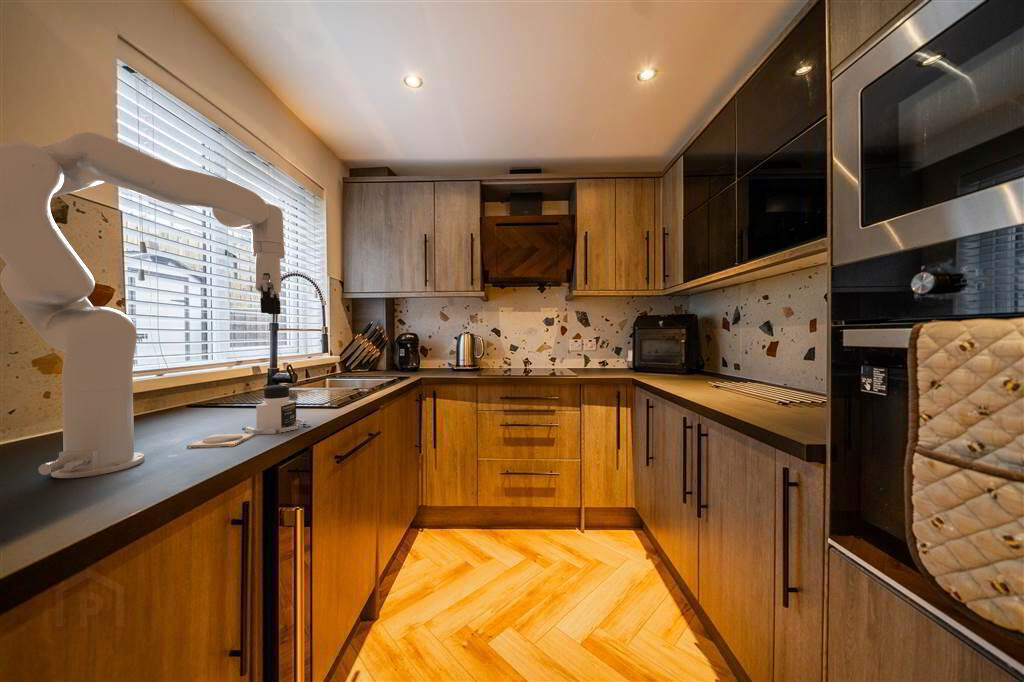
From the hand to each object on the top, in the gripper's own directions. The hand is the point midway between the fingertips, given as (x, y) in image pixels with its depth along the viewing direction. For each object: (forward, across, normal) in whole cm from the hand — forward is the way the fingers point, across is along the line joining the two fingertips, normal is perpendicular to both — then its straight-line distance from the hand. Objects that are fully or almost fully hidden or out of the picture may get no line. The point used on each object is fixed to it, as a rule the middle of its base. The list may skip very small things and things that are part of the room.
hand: (271, 313), depth 108 cm
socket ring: (+32, 0, 0) cm, 32 cm away
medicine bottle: (+32, 0, 0) cm, 32 cm away
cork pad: (+32, +10, -10) cm, 35 cm away
